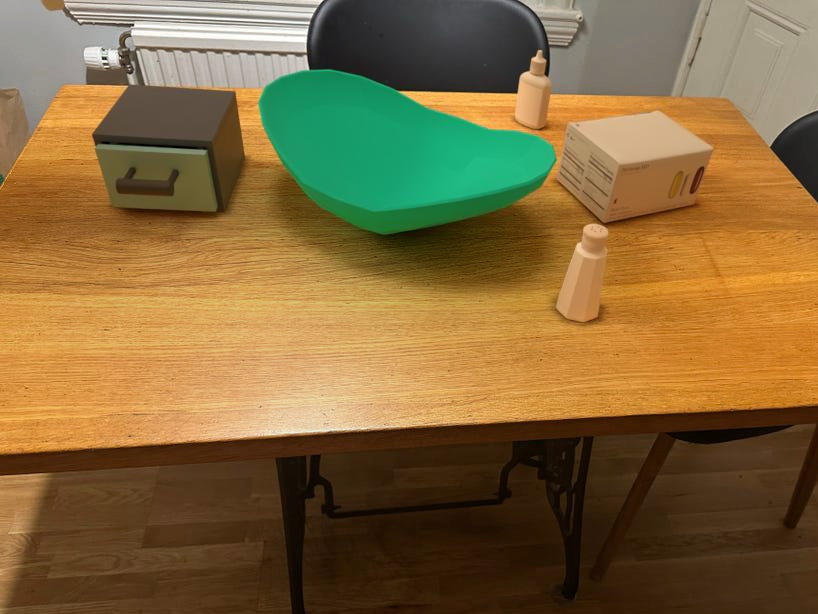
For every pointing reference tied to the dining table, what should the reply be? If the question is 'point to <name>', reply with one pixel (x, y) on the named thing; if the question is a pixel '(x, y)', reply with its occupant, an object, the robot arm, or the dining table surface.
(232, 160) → the mini chest of drawers
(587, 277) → the salt shaker
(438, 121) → the table top decor
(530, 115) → the eye dropper bottle
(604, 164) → the supplement box
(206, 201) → the drawer
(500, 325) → the dining table surface
